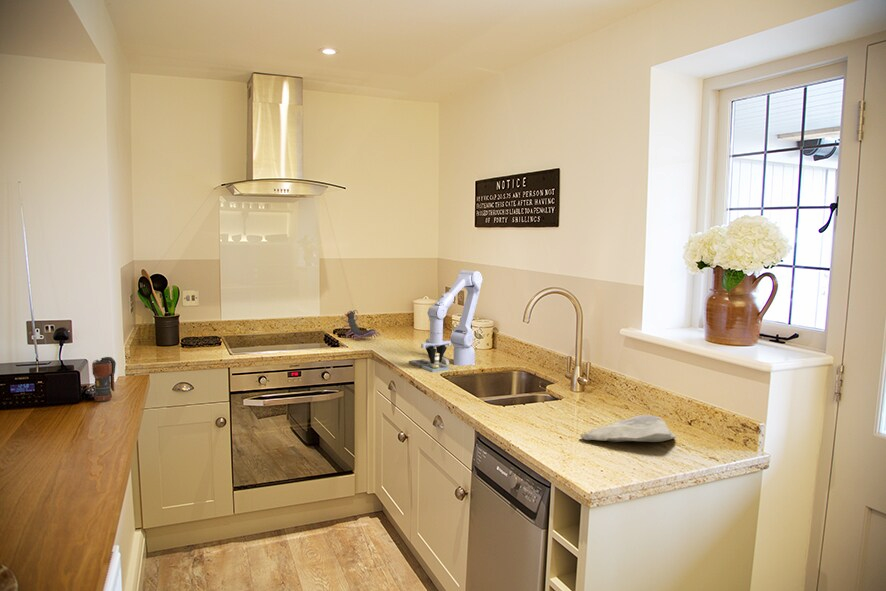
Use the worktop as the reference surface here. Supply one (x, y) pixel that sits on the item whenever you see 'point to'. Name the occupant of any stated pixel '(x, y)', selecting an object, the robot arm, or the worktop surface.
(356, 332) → the toy
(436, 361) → the cylinder
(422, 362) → the fuse block
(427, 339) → the wrench
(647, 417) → the decorative stone
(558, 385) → the worktop surface
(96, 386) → the grenade
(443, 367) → the parts tray
